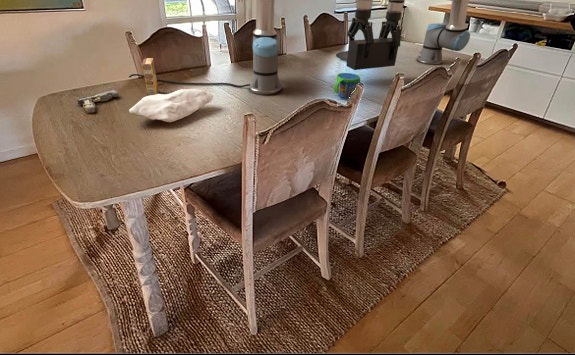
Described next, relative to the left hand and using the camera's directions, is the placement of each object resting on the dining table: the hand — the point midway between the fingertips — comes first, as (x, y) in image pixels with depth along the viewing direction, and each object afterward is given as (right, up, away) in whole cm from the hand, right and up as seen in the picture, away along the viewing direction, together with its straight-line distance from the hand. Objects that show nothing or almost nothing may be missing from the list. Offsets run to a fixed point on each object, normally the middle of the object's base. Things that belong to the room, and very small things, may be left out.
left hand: (357, 54), depth 186 cm
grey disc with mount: (+13, +15, +50) cm, 54 cm away
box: (+8, -4, +7) cm, 11 cm away
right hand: (+17, +1, +8) cm, 19 cm away
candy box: (-98, -25, -19) cm, 103 cm away
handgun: (-116, -32, -30) cm, 124 cm away
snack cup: (-8, -25, -13) cm, 29 cm away
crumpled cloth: (-83, -37, -36) cm, 98 cm away
